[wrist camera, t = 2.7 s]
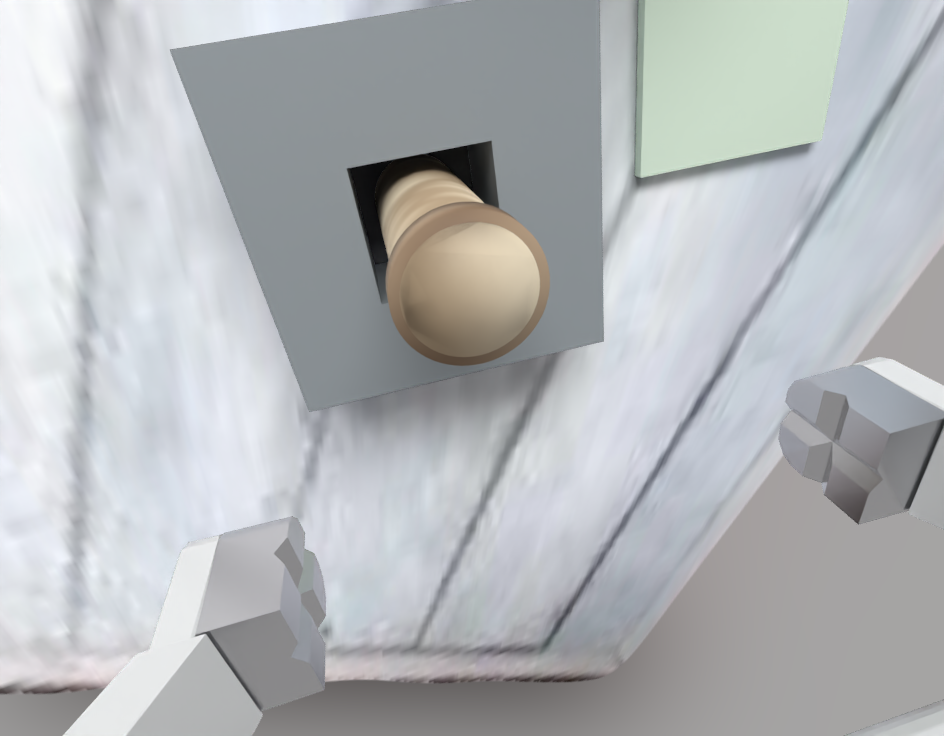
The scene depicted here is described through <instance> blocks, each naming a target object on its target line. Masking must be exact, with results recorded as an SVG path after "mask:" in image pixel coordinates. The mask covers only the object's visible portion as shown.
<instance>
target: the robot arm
mask: <svg viewBox="0 0 944 736" xmlns="http://www.w3.org/2000/svg"><path fill="white" fill-rule="evenodd" d="M785 402H786V404H787V405H788V406H789V408H790V409H791V411H790V412H789V414H788V415H787V416H786V417H785V419H784V420H783V421H782V422H781V426H780V432H779V442H780V446H781V449H782V452H783V455H784V456H785V458H786V459H787V460H788V462H789V464H790V465H791V466H792V467H793V468H794V469H795V470H797V472H799V473H800V474H801V475H802V476H804V477H807V478H810V479H812V480H815V481H818V482H821V483H822V487H823V493H824V495H825V496H826V497H827V498H828V499H829V500H831V501H832V502H833V503H834V504H835V505H836V506H838V507H839V508H840V509H841V510H842V511H844V512H845V513H846V514H847V515H848V516H849V517H850V518H851V519H853V520H854V521H855V522H856V523H857V524H862V523H866V522H869V521H873V520H877V519H880V518H884V517H887V516H891V515H894V514H898V513H901V512H905V511H909V512H908V514H909V515H912V516H914V517H916V518H919V519H921V520H923V521H925V522H927V523H930V524H932V525H934V526H937V527H939V528H941V529H943V530H944V386H943V385H941V384H939V383H937V382H935V381H933V380H931V379H930V378H927V377H926V376H923V375H921V374H920V373H918V372H916V371H914V370H912V369H910V368H908V367H906V366H904V365H902V364H900V363H898V362H897V361H895V360H893V359H888V358H882V357H877V358H873V359H870V360H866V361H863V362H859V363H856V364H852V365H850V366H848V367H843V368H839V369H836V370H832V371H829V372H825V373H821V374H818V375H814V376H811V377H807V378H803V379H800V380H796V381H794V383H793V384H792V385H791V386H790V388H789V389H788V392H787V397H786V401H785ZM304 545H305V532H304V530H303V528H302V526H301V524H300V522H299V520H298V518H296V517H293V516H292V517H287V518H283V519H279V520H275V521H271V522H267V523H263V524H259V525H255V526H251V527H247V528H243V529H238V530H234V531H230V532H226V533H224V534H222V535H217V536H213V537H209V538H205V539H201V540H197V541H192V542H188V543H187V545H186V546H185V547H184V548H183V549H182V550H181V552H180V554H179V557H178V560H177V563H176V567H175V570H174V573H173V576H172V579H171V582H170V585H169V588H168V591H167V594H166V597H165V600H164V604H163V607H162V610H161V613H160V616H159V619H158V622H157V625H156V628H155V631H154V634H153V638H152V641H151V644H150V647H149V650H147V651H144V652H141V653H138V654H136V655H135V656H134V657H133V658H132V659H131V660H130V661H129V663H128V664H127V665H126V666H125V667H124V668H123V669H122V670H121V671H120V673H119V674H118V675H117V676H116V677H115V678H114V679H113V680H112V681H111V683H110V684H109V685H108V686H107V687H106V688H105V689H104V690H103V691H102V693H101V694H100V695H99V696H98V697H97V698H96V699H95V700H94V701H93V703H92V704H91V705H90V706H89V707H88V708H87V709H86V711H85V712H84V713H83V714H82V715H81V716H80V717H79V718H78V719H77V720H76V722H75V723H74V724H73V725H72V726H71V727H70V728H69V729H68V730H67V731H66V733H65V734H64V735H63V736H252V735H253V733H254V731H255V729H256V727H257V725H258V723H259V722H260V720H261V718H262V716H263V715H262V713H261V711H264V710H267V709H270V708H273V707H276V706H279V705H282V704H285V703H288V702H291V701H294V700H297V699H300V698H302V697H306V696H308V695H311V694H314V693H317V692H320V691H323V690H324V686H325V684H324V683H325V642H324V640H323V638H322V636H321V634H320V632H319V630H318V627H319V626H320V624H321V623H322V621H323V620H324V618H325V616H326V596H325V588H324V581H323V576H322V573H321V569H320V566H319V563H318V561H317V558H316V556H315V554H314V553H312V552H310V551H308V550H306V549H304ZM844 736H944V700H941V701H938V702H935V703H933V704H930V705H927V706H924V707H921V708H919V709H916V710H913V711H911V712H908V713H905V714H902V715H899V716H897V717H894V718H891V719H888V720H886V721H883V722H880V723H877V724H874V725H872V726H869V727H866V728H863V729H861V730H858V731H855V732H852V733H850V734H847V735H844Z"/></svg>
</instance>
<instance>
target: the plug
mask: <svg viewBox="0 0 944 736" xmlns="http://www.w3.org/2000/svg"><path fill="white" fill-rule="evenodd" d="M375 205H376V210H377V214H378V218H379V222H380V226H381V230H382V234H383V238H384V243H385V247H386V251H387V255H388V259H389V260H388V264H387V269H386V278H385V281H386V293H387V298H388V303H389V308H390V313H391V316H392V319H393V322H394V324H395V326H396V328H397V330H398V332H399V333H400V335H401V336H402V337H403V339H404V340H405V341H406V342H407V343H408V344H409V345H410V346H411V347H412V348H413V349H414V350H416V351H417V352H418V353H420V354H421V355H423V356H425V357H427V358H429V359H431V360H433V361H436V362H439V363H443V364H448V365H454V366H470V365H477V364H483V363H486V362H489V361H492V360H495V359H497V358H499V357H502V356H503V355H505V354H507V353H509V352H510V351H512V350H513V349H514V348H516V347H517V346H518V345H520V344H521V343H522V342H523V341H524V340H525V339H526V338H527V337H528V336H529V335H530V334H531V332H532V331H533V330H534V328H535V327H536V325H537V324H538V322H539V320H540V319H541V317H542V315H543V312H544V310H545V307H546V304H547V300H548V297H549V289H550V274H549V267H548V263H547V260H546V256H545V254H544V252H543V250H542V248H541V246H540V244H539V243H538V241H537V240H536V238H535V237H534V236H533V235H532V234H531V233H530V232H529V231H528V230H527V229H526V228H525V227H524V226H523V225H522V224H521V223H519V222H518V221H517V220H516V219H515V218H514V217H512V216H511V215H510V214H508V213H507V212H505V211H503V210H501V209H499V208H497V207H495V206H492V205H489V204H485V203H484V202H483V201H482V200H481V199H480V198H479V197H478V196H476V195H475V194H474V193H473V192H472V191H471V190H470V189H469V188H468V187H467V186H466V185H465V184H464V183H463V182H462V181H461V180H460V179H459V178H458V177H457V176H456V175H455V174H454V173H453V172H452V171H451V170H450V169H449V168H448V167H447V166H446V165H445V164H444V163H443V162H441V161H440V160H438V159H437V158H434V157H432V156H429V155H426V154H419V155H414V156H409V157H404V158H399V159H395V160H394V161H392V162H391V163H390V164H388V166H387V167H386V168H385V169H384V170H383V172H382V173H381V175H380V177H379V178H378V181H377V184H376V188H375Z"/></svg>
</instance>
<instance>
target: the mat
mask: <svg viewBox="0 0 944 736" xmlns="http://www.w3.org/2000/svg"><path fill="white" fill-rule="evenodd" d="M848 2H849V0H638V45H637V95H636V145H635V176H637V177H640V178H643V177H647V176H652V175H657V174H662V173H667V172H672V171H676V170H681V169H686V168H691V167H696V166H701V165H705V164H710V163H715V162H720V161H725V160H729V159H734V158H739V157H744V156H749V155H754V154H758V153H763V152H768V151H773V150H778V149H782V148H787V147H792V146H797V145H802V144H807V143H811V142H816V141H821V140H822V136H823V131H824V125H825V120H826V115H827V110H828V105H829V100H830V95H831V90H832V84H833V79H834V74H835V69H836V64H837V59H838V54H839V49H840V43H841V38H842V33H843V28H844V23H845V18H846V13H847V8H848Z"/></svg>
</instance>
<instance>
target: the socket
mask: <svg viewBox="0 0 944 736" xmlns="http://www.w3.org/2000/svg"><path fill="white" fill-rule="evenodd" d="M170 52H171V55H172V57H173V60H174V62H175V65H176V68H177V70H178V73H179V75H180V78H181V81H182V83H183V86H184V88H185V91H186V93H187V96H188V99H189V101H190V104H191V106H192V109H193V112H194V114H195V117H196V119H197V122H198V125H199V127H200V130H201V132H202V135H203V138H204V140H205V143H206V145H207V148H208V151H209V153H210V156H211V158H212V161H213V164H214V166H215V169H216V171H217V174H218V176H219V179H220V182H221V184H222V187H223V189H224V192H225V195H226V197H227V200H228V202H229V205H230V208H231V210H232V213H233V215H234V218H235V221H236V223H237V226H238V228H239V231H240V234H241V236H242V239H243V241H244V244H245V246H246V249H247V252H248V254H249V257H250V259H251V262H252V265H253V267H254V270H255V272H256V275H257V278H258V280H259V283H260V285H261V288H262V291H263V293H264V296H265V298H266V301H267V304H268V306H269V309H270V311H271V314H272V316H273V319H274V322H275V324H276V327H277V329H278V332H279V335H280V337H281V340H282V342H283V345H284V348H285V350H286V353H287V355H288V358H289V361H290V363H291V366H292V368H293V371H294V374H295V376H296V379H297V381H298V384H299V386H300V389H301V392H302V394H303V397H304V399H305V402H306V405H307V407H308V410H309V412H313V411H317V410H321V409H325V408H329V407H334V406H338V405H342V404H346V403H350V402H354V401H358V400H363V399H367V398H371V397H375V396H379V395H383V394H387V393H392V392H396V391H400V390H404V389H408V388H412V387H416V386H420V385H425V384H429V383H433V382H437V381H441V380H445V379H449V378H454V377H458V376H462V375H466V374H470V373H474V372H478V371H483V370H487V369H491V368H495V367H499V366H503V365H507V364H512V363H516V362H520V361H524V360H528V359H532V358H536V357H541V356H545V355H549V354H553V353H557V352H561V351H565V350H570V349H574V348H578V347H582V346H586V345H590V344H594V343H599V342H603V341H604V323H603V242H602V161H601V80H600V0H472V1H466V2H460V3H454V4H448V5H442V6H435V7H429V8H423V9H417V10H411V11H405V12H399V13H392V14H386V15H380V16H374V17H368V18H362V19H355V20H349V21H343V22H337V23H331V24H325V25H318V26H312V27H306V28H300V29H294V30H288V31H281V32H275V33H269V34H263V35H257V36H251V37H244V38H238V39H232V40H226V41H220V42H214V43H207V44H201V45H195V46H189V47H183V48H177V49H171V50H170ZM466 145H467V148H468V155H469V162H470V170H471V177H472V184H473V191H474V194H475V195H476V196H478V197H479V198H480V199H481V200H482V201H483V202H484V203H485V204H489V205H492V206H495V207H497V208H499V209H501V210H503V211H505V212H507V213H508V214H510V215H511V216H512V217H514V218H515V219H516V220H517V221H518V222H519V223H521V224H522V225H523V226H524V227H525V228H526V229H527V230H528V231H529V232H530V233H531V234H532V235H533V236H534V237H535V238H536V240H537V241H538V243H539V244H540V246H541V248H542V250H543V252H544V254H545V256H546V260H547V263H548V267H549V274H550V289H549V297H548V300H547V304H546V307H545V310H544V312H543V315H542V317H541V319H540V320H539V322H538V324H537V325H536V327H535V328H534V330H533V331H532V332H531V334H530V335H529V336H528V337H527V338H526V339H525V340H524V341H523V342H522V343H521V344H520V345H518V346H517V347H516V348H514V349H513V350H512V351H510V352H509V353H507V354H505V355H503V356H502V357H499V358H497V359H495V360H492V361H489V362H486V363H483V364H477V365H470V366H454V365H448V364H443V363H439V362H436V361H433V360H431V359H429V358H427V357H425V356H423V355H421V354H420V353H418V352H417V351H416V350H414V349H413V348H412V347H411V346H410V345H409V344H408V343H407V342H406V341H405V340H404V339H403V337H402V336H401V335H400V333H399V332H398V330H397V328H396V326H395V324H394V322H393V319H392V316H391V313H390V308H389V303H388V298H387V293H386V281H385V278H386V269H387V264H388V262H386V263H381V264H376V265H375V263H374V259H373V255H372V251H371V247H370V243H369V240H368V236H367V232H366V228H365V224H364V220H363V216H362V212H361V208H360V204H359V200H358V196H357V193H356V189H355V185H354V181H353V177H352V173H351V169H350V168H352V167H357V166H362V165H367V164H373V163H378V162H383V161H388V160H393V159H399V158H404V157H409V156H414V155H419V154H425V153H430V152H435V151H440V150H445V149H450V148H456V147H461V146H466Z"/></svg>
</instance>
